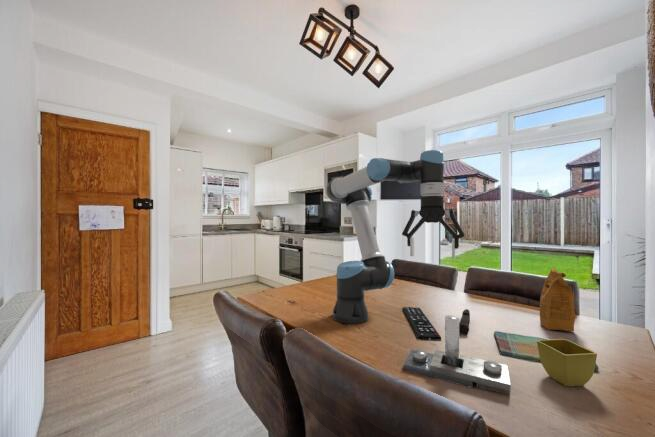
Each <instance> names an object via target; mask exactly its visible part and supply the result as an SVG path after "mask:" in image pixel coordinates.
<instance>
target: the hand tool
mask: <svg viewBox="0 0 655 437" xmlns="http://www.w3.org/2000/svg"><path fill="white" fill-rule="evenodd" d="M461 313H462V315H461V318H460V319H459V335H463V336H467V335H468V334H469V331H470V321H471V320H470V319H471V317H470V316H471V313H470V310H469V309H467V308H466V309H464V310H463V311H462V312H461Z"/></svg>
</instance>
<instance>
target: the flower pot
mask: <svg viewBox="0 0 655 437" xmlns="http://www.w3.org/2000/svg"><path fill="white" fill-rule="evenodd" d="M571 341H572V340H571ZM571 341H570V340H568V339H565V338H556V339H555V338H554V339H551V338H550V339H549V340H537V346H538V352H539V357H540V361H541V362H540V363H541V365H542V367H543V369H544V370H545V372H546V373H547V375H548V376H549V377H550V378H552V379H553V380H555V381H557V382H558V383H560V384H561V385H562V386H565V387H576V386H577V387H579V386H584V385H586V384H587V383H588V382H590V380H591V379H592V378H593V376H594V374H595V371H594V370H595V364H597V357H598V353H597V352H595V351H593V350H590V349H588V348H586V347H584V346H581V345H579V344H578V343H576V342H575V343H576V344H575V343H573V342H571Z"/></svg>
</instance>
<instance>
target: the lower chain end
mask: <svg viewBox="0 0 655 437" xmlns="http://www.w3.org/2000/svg"><path fill="white" fill-rule="evenodd" d="M433 355H434V353H429V352H427V351H426V350H424V349H422V348H421V349H420V348H415V349H411V350H410V352H409V353H408V355H407V357H406V359H405V360H404V363H403V370H405V371H407V372H408V371H409V372H412V373H416V374H419V375H422V376H423V375H424V376H427V377H430V378H435V379H438V380H442V381H446V382H450V383H454V384H458V385H461V386H465V387H469V388H473V382H472V381H468V380H464V379H460V378H456V377H452V376H448V375H444V374H441V373H437V372H433V371H430V364H431V361H432V358H433ZM442 364H445V360H443V361H442ZM459 368H462V369H463V365H462V364H459Z"/></svg>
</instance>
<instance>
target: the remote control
mask: <svg viewBox="0 0 655 437" xmlns="http://www.w3.org/2000/svg"><path fill="white" fill-rule="evenodd" d="M402 312H403V313H404V315H405V317H406V319H407V320H408V322H409V324H410V326H411V328H412V329H413V331H414V333H415V336H416V337H417V339H418V340H429V341H431V340H432V341H433V340H434V341H442V336H441V335H440V334H439V332H438V331H437V330H436V328H435V327H434V326H433V324H432V323H431V322H430V320H429V319H428V317H427V316H426V315H425V313H424V311H423V310H422V309H421V308H420V307H410V306H409V307H406V306H405V307H404V306H402Z"/></svg>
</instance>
